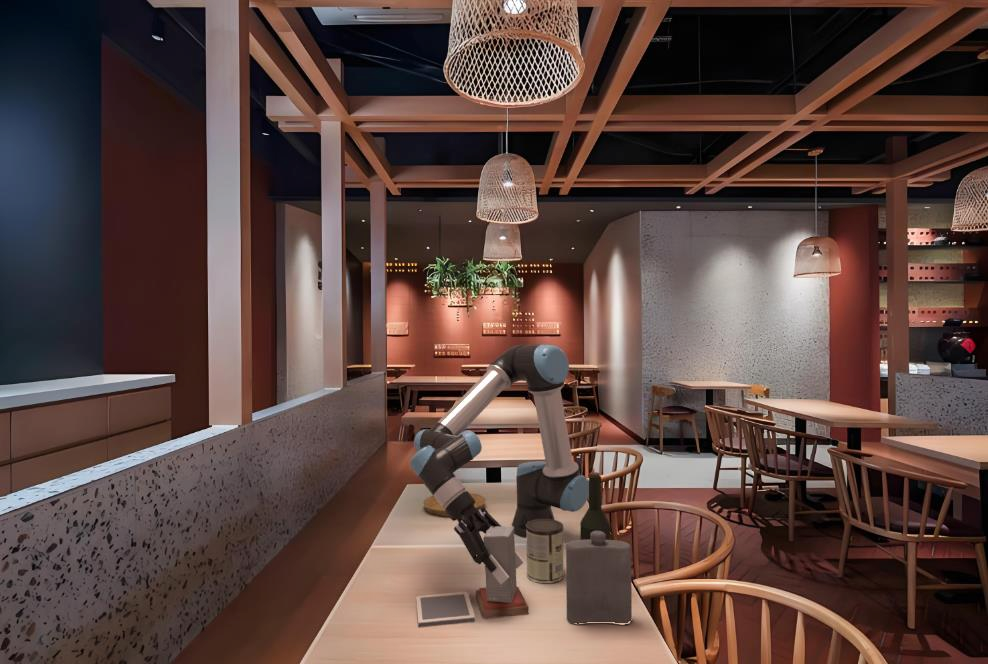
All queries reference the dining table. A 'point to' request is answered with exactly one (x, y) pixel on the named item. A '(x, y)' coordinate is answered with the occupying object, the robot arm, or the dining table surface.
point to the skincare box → (501, 563)
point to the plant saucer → (437, 509)
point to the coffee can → (544, 550)
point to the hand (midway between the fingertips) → (513, 572)
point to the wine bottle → (594, 511)
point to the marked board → (444, 609)
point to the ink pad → (501, 605)
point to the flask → (598, 580)
